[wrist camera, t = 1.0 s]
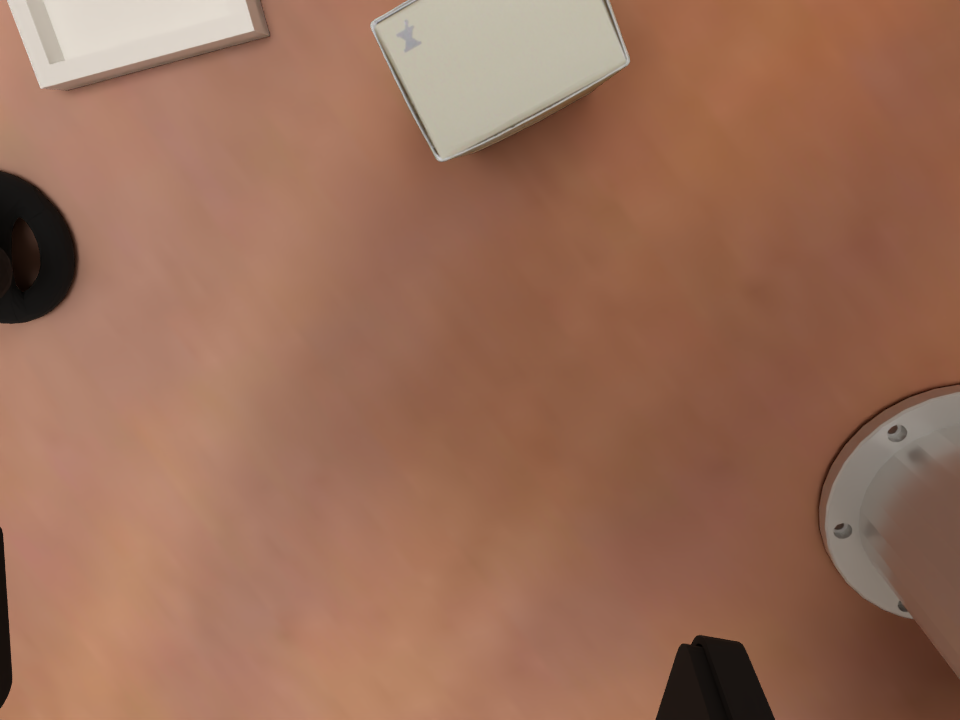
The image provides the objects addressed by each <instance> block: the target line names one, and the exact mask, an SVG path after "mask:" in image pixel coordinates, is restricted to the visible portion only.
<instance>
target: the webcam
mask: <svg viewBox="0 0 960 720" xmlns="http://www.w3.org/2000/svg"><path fill="white" fill-rule="evenodd" d="M18 218H22V219H24V221H25V222H26V223H27V224H28V225H29V227H30V228H31V230H32V231H33V233H34V236H35V238H36V240H37V243H38V247H39V252H40V263H41V266H40V271H39V274H38V276H37V278H36V280H35V281H34V283H33V285H32V286H31V287H30V288H29V289H28V290H26V291H24V292H22V291H21V290H20V289H19V288H18V287H17V286H16V282H15V278H14V274H13V270H12V255H11V254H12V231H13V226H14V223H15V222H16V220H17V219H18ZM74 267H75V259H74V249H73V242H72V239H71V236H70V234H69V231H68V228H67V226H66V224H65V222H64V220H63V218H62V216H61V215H60V213H59V212H58V211H57V210H56V209H55V207H54V206H53V205H52V204H51V203H50V202H49V201H48V200H47V199H46V198H45V197H44V196H43V195H42V194H41V193H40V192H39V191H38V190H37V189H36V188H35V187H34V186H32V185H31V184H29V183H27V182H25V181H24V180H22V179H20V178H18V177H15V176H13V175H11V174H8V173H4V172H1V171H0V323H9V324H13V323H23V322H28V321H31V320H34V319H37V318H40V317H42V316H44V315H45V314H47V313H48V312H50V311H52V310H53V309H54V308H55V307H56V306H57V305H58V304H59V303H60V302H61V301H62V299H63V298H64V297H65V295H66V293H67V292H68V290H69V288H70V286H71V283H72V279H73V274H74Z"/></svg>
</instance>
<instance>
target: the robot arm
mask: <svg viewBox="0 0 960 720" xmlns="http://www.w3.org/2000/svg"><path fill="white" fill-rule="evenodd" d="M891 427H892V428H891ZM890 428H891V429H890ZM889 429H890V430H889ZM819 522H820V532H821V535H822V539H823V542H824V546H825V549H826V551H827V553H828V555H829V556H830V558H831V560H832V562H833V564H834V566H835V567H836V569H837V570H838V571H839V573H840V574H841V575H842V577H843V578H844V579H845V581H846V582H847V584H848V585H849V586H850V587H852V588H853V589H854V590H855V591H856V592H857V593H858V594H859V595H860V596H861V597H863V598H864V599H865V600H867V601H869V602H870V603H872V604H874V605H876V606H877V607H879V608H881V609H882V610H885V611H887V612H890V613H892V614H895V615H897V616H900V617H904V618H909V619H914V620H915V621H916V622H917V624H918V625H919V626H920V628H921V629H922V630H923V632H924V633H925V634H926V636H927V637H928V638H929V640H930V641H931V642H932V644H933V645H934V646H935V648H936V649H937V650H938V652H939V653H940V654H941V655H942V657H943V658H944V659H945V661H946V662H947V663H948V665H949V666H950V667H951V669H952V670H953V671H954V673H955V674H956V675H957V677H958V678H959V679H960V385H955V386H949V387H943V388H937V389H933V390H930V391H927V392H924V393H921V394H918V395H915V396H912V397H909V398H907V399H905V400H903V401H901V402H899V403H898V404H896V405H894V406H892V407H890V408H888V409H886V410H884V411H883V412H882V413H880V414H879V415H878V416H876V417H875V418H874V419H872V420H871V421H869V422H868V423H867V424H865V425H864V426H863V427H862V428H861V429H860V430H859V431H858V432H857V433H856V434H855V435H854V436H853V437H852V438H851V439H850V440H849V442H848V443H847V444H846V445H845V446H844V448H843V449H842V451H841V452H840V454H839V455H838V457H837V458H836V460H835V461H834V463H833V464H832V466H831V468H830V471H829V473H828V476H827V478H826V480H825V483H824V485H823V489H822V494H821V500H820V505H819ZM11 685H12V665H11V650H10V634H9V619H8V604H7V588H6V573H5V558H4V542H3V532H2V529H1V527H0V708H1V707H2V705H3V704H4V702H5V700H6V698H7V696H8V694H9V692H10V689H11ZM656 720H775V718H774V716H773V713H772V711H771V709H770V706H769V704H768V702H767V699H766V697H765V694H764V692H763V690H762V687H761V685H760V683H759V680H758V678H757V676H756V673H755V671H754V668H753V666H752V664H751V661H750V659H749V657H748V654H747V652H746V650H745V648H744V646H743V645H742V644H741V643H740V642H737V641H731V640H725V639H720V638H714V637H708V636H702V635H698V636H696V637H695V639H694V640H693V642H692V644H691V645H689V644H681V645H680V647H679V649H678V651H677V654H676V657H675V660H674V663H673V667H672V670H671V673H670V676H669V679H668V682H667V686H666V689H665V692H664V695H663V698H662V701H661V704H660V708H659V711H658V714H657V717H656Z"/></svg>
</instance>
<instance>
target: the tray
mask: <svg viewBox="0 0 960 720" xmlns="http://www.w3.org/2000/svg"><path fill="white" fill-rule="evenodd" d="M7 1H8V4H9V7H10V9H11V12H12V14H13V17H14V20H15V22H16V25H17V28H18V30H19V33H20V36H21V38H22V41H23V43H24V46H25V49H26V51H27V54H28V57H29V59H30V62H31V65H32V67H33V70H34V72H35V75H36V78H37V80H38V83H39V86H40V88H41V89H53V90H66V91H67V90H71V89H75V88H78V87H82V86H86V85H89V84H93V83H97V82H101V81H104V80H108V79H112V78H115V77H119V76H123V75H127V74H130V73H134V72H138V71H142V70H145V69H149V68H153V67H156V66H160V65H164V64H168V63H171V62H175V61H179V60H182V59H186V58H190V57H194V56H197V55H201V54H205V53H209V52H212V51H216V50H220V49H223V48H227V47H231V46H235V45H238V44H242V43H246V42H249V41H253V40H257V39H261V38H264V37H268V36H270V34H269V30H268V27H267V23H266V20H265V16H264V13H263V9H262V6H261V2H260V0H7Z"/></svg>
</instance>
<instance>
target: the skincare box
mask: <svg viewBox="0 0 960 720" xmlns="http://www.w3.org/2000/svg"><path fill="white" fill-rule="evenodd" d="M370 26H371V30H372V32H373V34H374V36H375V38H376V40H377V42H378V44H379V47H380V49H381V51H382V53H383V55H384V57H385V60H386V62H387V64H388V66H389V68H390V70H391V72H392V74H393V76H394V78H395V81H396V83H397V85H398V87H399V89H400V91H401V93H402V95H403V97H404V99H405V101H406V103H407V105H408V107H409V109H410V111H411V113H412V115H413V117H414V119H415V121H416V123H417V125H418V127H419V129H420V131H421V133H422V134H423V136H424V138H425V140H426V141H427V143H428V145H429V147H430V149H431V150H432V152H433V154H434V156H435V158H436V159H437V160H438V161H440V162H443V161H447V160H449V159H452V158H456V157H460V156H464V155H468V154H472V153H475V152H477V151H480V150H482V149H484V148H486V147H488V146H490V145H492V144H495V143H497V142H499V141H501V140H503V139H505V138H507V137H509V136H511V135H513V134H515V133H517V132H519V131H521V130H523V129H525V128H527V127H529V126H531V125H533V124H535V123H537V122H539V121H541V120H542V119H544V118H546V117H548V116H550V115H551V114H553V113H555V112H557V111H559V110H560V109H562V108H564V107H566V106H567V105H569V104H571V103H573V102H575V101H576V100H578V99H580V98H582V97H583V96H585V95H587V94H589V93H591V92H592V91H594V90H595V89H596V88H597V87H598V86H600V85H601V84H603V83H604V82H605V81H607V80H608V79H609V78H611V77H612V76H613V75H615V74H616V73H618V72H619V71H621V70H622V69H623V68H624V67H626V66H627V65H628V64H629V63H630V57H629V54H628V51H627V48H626V46H625V43H624V40H623V38H622V35H621V32H620V29H619V26H618V24H617V21H616V18H615V15H614V12H613V9H612V6H611V3H610V1H609V0H407V1H406V2H404V3H402V4H400V5H399V6H397V7H395V8H394V9H392V10H391V11H389V12H387V13H385V14H384V15H382V16H380V17H378V18H376V19H375V20H374V21H372V22H371V25H370Z"/></svg>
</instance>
